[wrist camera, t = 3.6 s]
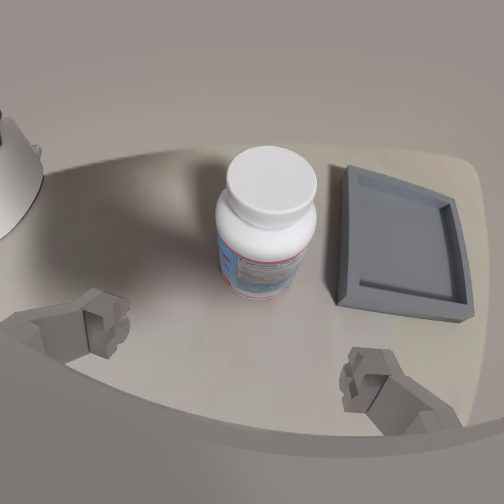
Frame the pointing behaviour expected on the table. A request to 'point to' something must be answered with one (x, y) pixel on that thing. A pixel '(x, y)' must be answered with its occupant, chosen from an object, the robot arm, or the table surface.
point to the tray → (401, 250)
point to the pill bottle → (265, 220)
